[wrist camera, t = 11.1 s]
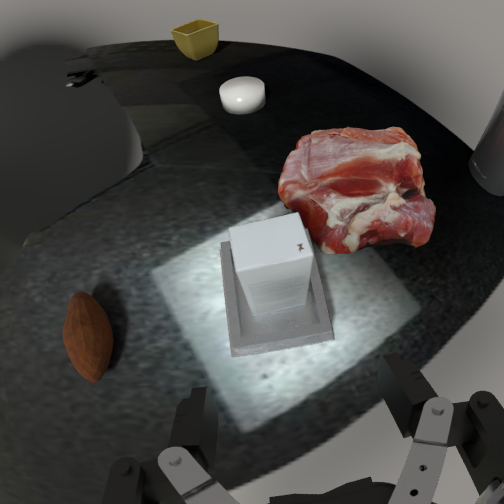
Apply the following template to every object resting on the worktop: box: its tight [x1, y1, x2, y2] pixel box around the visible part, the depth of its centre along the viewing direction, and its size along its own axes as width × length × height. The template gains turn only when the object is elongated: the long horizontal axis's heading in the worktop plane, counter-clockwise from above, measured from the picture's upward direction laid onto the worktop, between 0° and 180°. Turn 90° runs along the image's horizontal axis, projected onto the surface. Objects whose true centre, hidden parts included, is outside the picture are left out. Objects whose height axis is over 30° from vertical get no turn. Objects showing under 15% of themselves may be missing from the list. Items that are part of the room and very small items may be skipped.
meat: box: [278, 127, 436, 254], centre depth 35 cm, size 21×21×10 cm
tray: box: [220, 229, 334, 357], centre depth 33 cm, size 11×13×3 cm
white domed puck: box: [220, 77, 266, 114], centre depth 51 cm, size 8×8×4 cm
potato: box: [63, 292, 114, 383], centre depth 31 cm, size 6×12×6 cm, turn 21°
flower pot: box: [171, 19, 219, 61], centre depth 61 cm, size 9×9×9 cm
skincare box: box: [228, 212, 314, 316], centre depth 29 cm, size 6×4×12 cm
